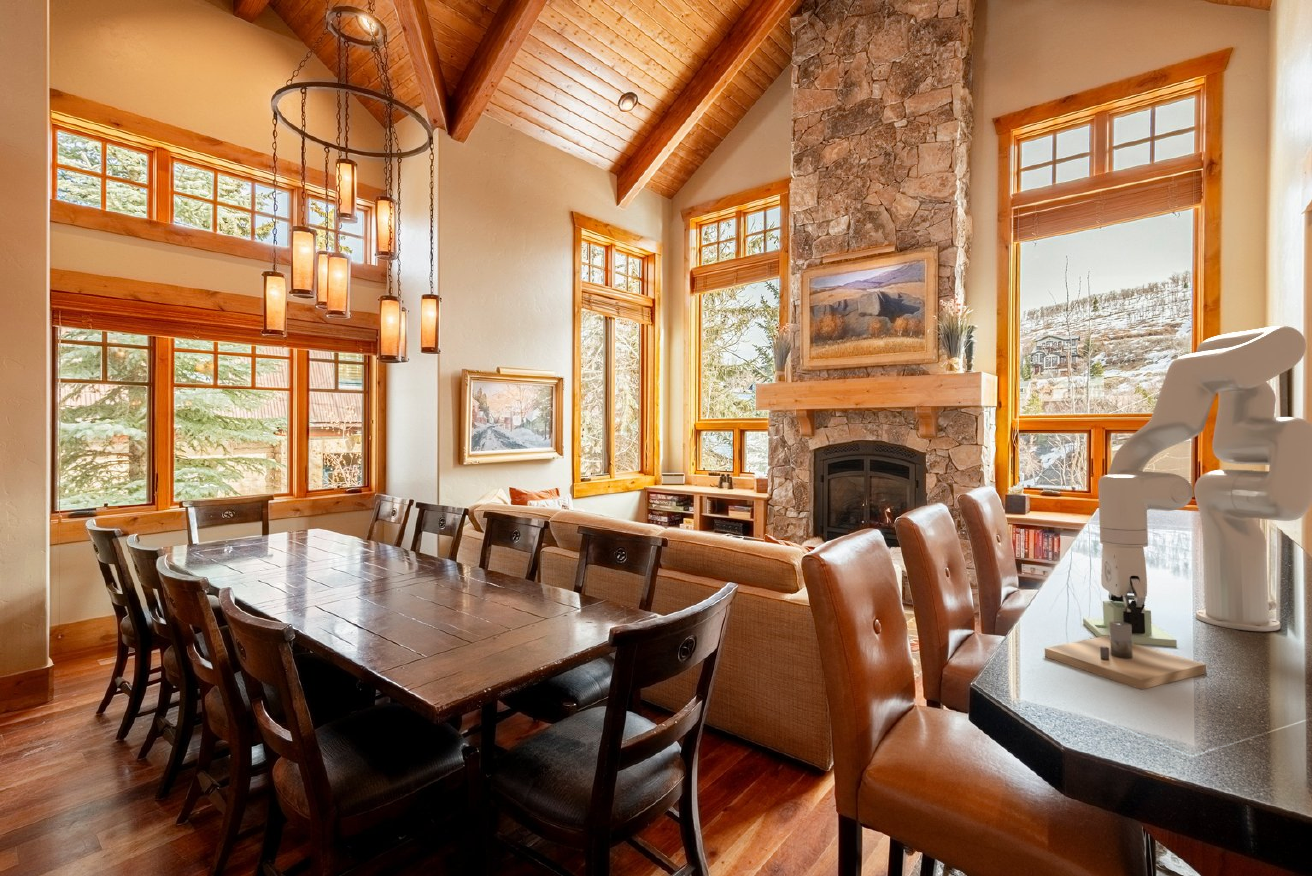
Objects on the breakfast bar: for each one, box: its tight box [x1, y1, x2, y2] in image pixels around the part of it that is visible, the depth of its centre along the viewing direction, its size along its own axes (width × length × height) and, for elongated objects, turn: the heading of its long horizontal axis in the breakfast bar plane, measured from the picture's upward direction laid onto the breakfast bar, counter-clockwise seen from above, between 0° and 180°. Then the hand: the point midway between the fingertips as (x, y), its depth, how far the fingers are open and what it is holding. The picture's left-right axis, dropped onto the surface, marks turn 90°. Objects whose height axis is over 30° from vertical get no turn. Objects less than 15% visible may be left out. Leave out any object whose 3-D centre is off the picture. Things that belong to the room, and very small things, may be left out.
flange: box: [1082, 600, 1178, 647], centre depth 120 cm, size 12×12×6 cm
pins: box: [1100, 621, 1133, 661], centre depth 104 cm, size 6×3×6 cm, turn 110°
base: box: [1044, 636, 1207, 690], centre depth 105 cm, size 16×16×2 cm
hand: (1126, 626), depth 120 cm, fingers open, 7 cm apart
